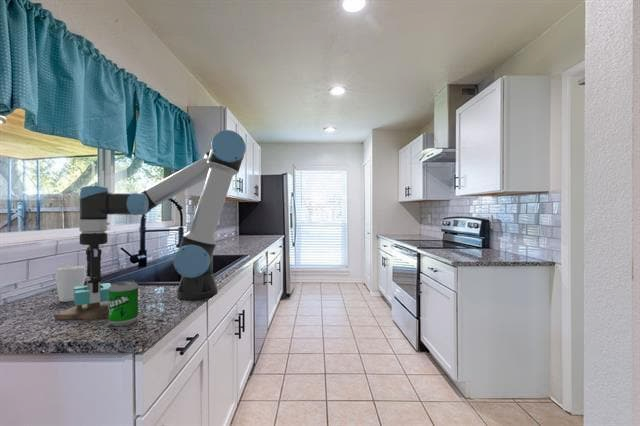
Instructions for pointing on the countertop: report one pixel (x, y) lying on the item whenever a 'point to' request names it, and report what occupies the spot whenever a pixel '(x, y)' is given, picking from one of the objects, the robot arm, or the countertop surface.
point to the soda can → (123, 303)
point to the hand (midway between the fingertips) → (93, 298)
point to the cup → (69, 281)
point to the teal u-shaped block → (84, 295)
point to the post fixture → (85, 310)
